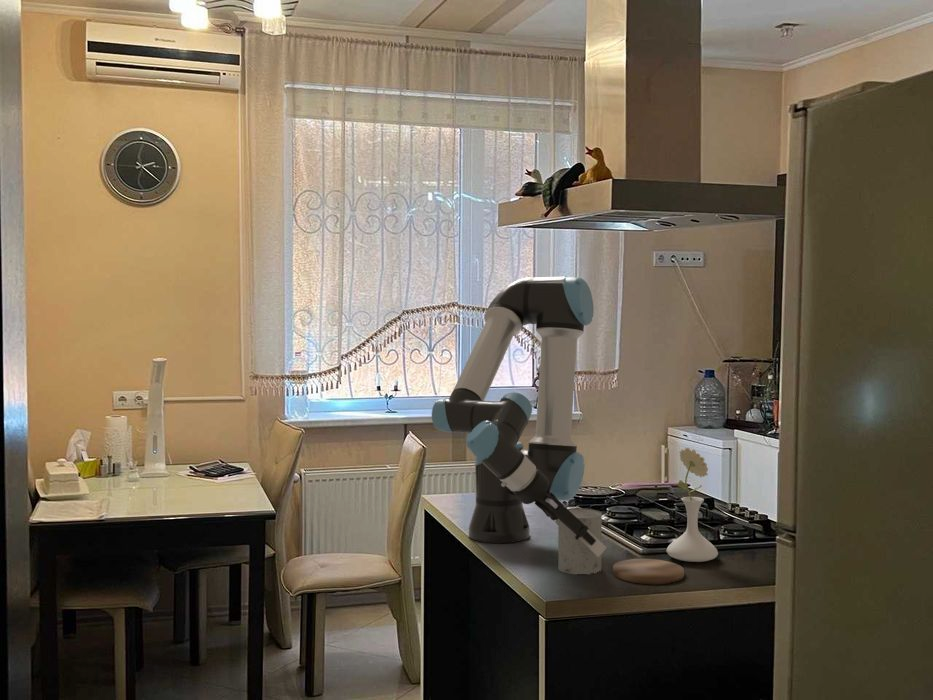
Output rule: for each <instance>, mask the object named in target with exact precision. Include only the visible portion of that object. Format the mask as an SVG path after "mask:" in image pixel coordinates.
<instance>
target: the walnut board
mask: <svg viewBox="0 0 933 700" xmlns="http://www.w3.org/2000/svg"><path fill="white" fill-rule="evenodd" d="M612 574H613V576H615V577H616V578H617V579H620V580H622V579H623V581H625V580H626V582H629V581H630V583H636V584H641V585H643V584H644V585H663V584H664V585H665V584H672V583H671V582H673V583H676V581H677V582H679V581H682V580H683V579H684V577H685V569H684V568H683V567H682V566H681V565H680V564H678V563H675V562H671V561H667V560H661V559H655V558H654V559H653V558H630V559H625V560H624V559H623V560H620V561H618V562H616V563H614V564H613V565H612Z"/></svg>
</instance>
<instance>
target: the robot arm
mask: <svg viewBox="0 0 933 700" xmlns="http://www.w3.org/2000/svg"><path fill="white" fill-rule="evenodd" d="M593 317H594V299H593V295H592V292H591V288H590V287H589V284H588V283H587V282H586V280H585V279H583V278H581V277H576V276H574V277H573V276H567V275H566V276H544V277H543V276H541V277H538V276H537V277H533V276H530V277H529V276H526V277H523V278H520V279H517V280H515V281H512V282H511V283H510V284H508V285H507V286H505V287H504V288H503V289H502V290H501V291H500V292H499V293H498V294H497V295H496V296H495V297H494V298H493V299H492V301H491V302H490V304H489V305H488V307H487V309H486V311H485V314H484V317H483V318H484V322H485V323H484V325H483V327H482V328H481V329H482V330H481V331H480V334H479V335H478V337H477V340H476V342H475V344H474V346H473V348H472V350H471V352H470V355H469V356H468V359H467V361H466V362H465V364H464V367H463V369H462V371H461V374H460V375H459V377H458V379H457V381H456V384H455V385H454V388H453V390H452V392H451V394H450V396H449V397H445V398H439V399H438V400H436V401H435V402H434V403H433V406H432V409H431V422H432V424H433V426H434V428H435V429H436V430H438V431H439V432H445V433H450V434H452V433H453V434H455V433H456V434H457V433H459V434H468V435H467V437H466V440H465V446H466V447H467V448H468V450H469V451H470V452H471V453H472V455H473V456H474V457H475V464H474V466H475V467H474V468H475V469H474V470H475V506H474V510H473V513H472V515H471V519H470V521H469V525H468V537H469V538H470V539H471V540H475V541H477V542H482V543H483V542H484V543H490V544H491V543H492V544H506V543H509V544H510V543H516V542H521V541H524V540H527V539H528V538H530V536H531V535H530V534H531V533H530V524H529V521H528V518H527V515H526V512H525V509H524V506H523V504H525V505H531V504H533V503H534V505H535V506H537V507H538V508H539V509H541V511H543V513H544V514H545V515H546V517H548V518H550V519H551V521H554V523H555V524H556V525H557V526H558V519H559V520H560V521H561V522H562V523H564V524H565V525H566V526H567V527H568V528H569V529H570V530H572V531H573V532H574V533H575V534H576V537H575V539H577V540H578V539H580V540H581V541H582V542H583V543H584V544H585V545H586V546H587V547H588V548H589V549H590V550H591V551H592V552H593V553H594V554H595V555H596V556H597V557H599V556H600V555H601V556H602V554H603V553H604V552H605V551H606V549H607V546H606V545H605V544H604V543H603V542H602V541H601V542H600V541H599V540H598V539H597V538H596V537H595V536H594V535H593V534H592V533H591V532H590V531H589V530H588V527H587V526H586V525H584V524H583V523H582V522H581V521H580V520H579V519H578V518H577V517H575V516H574V515H573V514H572V513H571V512H570V511H569V510H568V509H569V508H567V507H565V506H564V504H563V502H561V501H569V500H572V499H573V498H574V497H575V496H576V495H577V493H578V491H579V489H580V487H581V485H582V482H583V478H584V474H585V473H584V472H585V462H584V461H585V458H584V456H583V455H582V453H580V452H578V450H577V448H578V447H577V446H578V445H577V444H576V442H575V441H574V439H573V438H572V426H573V413H574V412H573V411H574V410H573V409H574V394H575V393H574V390H575V378H576V377H575V375H576V361H577V360H576V359H577V346H578V345H577V342H578V339H579V338H580V337H581V336H582V335H583V334H584V332H585V331H584V329H585V328H584V327H585V326H588V325H591V323H592V322H593ZM525 325H535V331H536V332H537V333H538V335H540V337H541V344H540V357H539V358H540V359H539V360H540V361H539V375H538V391H537V405H536V406H537V409H536V421H535V422H536V424H535V434H534V437H532V438H531V439H530V440H529V441H528V449H527V448H524V445H523V443H522V442H521V441H519V440H520V438H521V436H522V434H523V433H524V431H525V429H526V426H528V424H529V421H530V417H531V415H532V413H533V406H532V403H531V401H530V400H529V399H528V398H527V396H525V395H523V394H521V393H519V392H515V391H510V392H508V393H506V394H504V395H503V396H502V397H501V398H500V400H499V401H497V400H496V401H495V400H494V401H493V400H486V397H487V395H488V393H489V390H490V388H491V386H492V384H493V381H494V380H495V377H496V375H497V372H498V370H499V369H500V366H501V363H502V362H503V360H504V357H505V355H506V353H507V350H508V348H509V347H510V344H511V342H512V340H513V337H514V336H516V335H518V334H519V333H520V332H521V330H522V328H523V326H525Z"/></svg>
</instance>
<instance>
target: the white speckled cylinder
mask: <svg viewBox="0 0 933 700" xmlns="http://www.w3.org/2000/svg"><path fill="white" fill-rule="evenodd" d="M567 509H568V510H569V511H570V512H571V513H572V514H573V515H574V516H575V517H577V518H578V519H579V520H580V521H581V522H582V523H583V524H584V525H586V526H587V527H588V530H589V531H590V532H591V533H592V534H593V535H594V536H595V537H596V538H597V539H598V540H599V541H600V542H601V543H602V527H603V526H602V525H603V523H602V522H603V521H602V517H603V513H602V512H601V511H600V510H597V509H593V508H586V507H585V508H583V507H581V508H580V507H575V508H567ZM557 526H558V532H557V533H558V535H557V538H558V540H557V541H558V542H557V543H558V544H557V545H558V549H557V551H558V552H557V553H558V555H557V557H558V558H557V559H558V566H557V569H558V570H559V571H561V572H562V573H566V574H569V575H577V574H587V575H592V574H591V573H594V574H597V572H598V573H600V572H601V571H602V570H601V569H603V568H602V554H601V555H600V556H599V557H597V556H596V555H595V554H594V553H593V552H592V551H591V550H590V549H589V548H588V547H587V546H586V545H585V544H584V543H583V542H582V541H581V540H580V539H578V540H577V539H575V537H576V534H575V533H574V532H573V531H572V530H570V529H569V528H568V527H567V526H566V525H565V524H564V523H562V522H561V521H560V520H559V519H558V525H557ZM599 571H600V572H599Z"/></svg>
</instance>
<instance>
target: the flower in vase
mask: <svg viewBox="0 0 933 700" xmlns="http://www.w3.org/2000/svg"><path fill="white" fill-rule="evenodd" d="M679 459H680V461H681V462H682V463H683V466H684V467H685V468H686V469H687V471H686V475H685V479H684V481H683V480H678V481H679V482H678V483H677V487H679V488H680V489H683V490H684V491H687V493H688V496H685V497H684V496H683V497H681V498H680V499H681V500H682V502H683V503H684V506H685V509H686V516H687V523H686V530H685V531H684V532H683V534H681V535H680V536H678V537H677V538H676V539H674V540H673V541H672V542H671V543H669V545H668V546H667V549H666V551H665V552H666V553H667V554H668V556H670V557H671V558H673V559H675V560H678V561H683V562H690V563H692V562H693V563H695V562H696V563H702V562H703V563H704V562H709V561H711V560H714V559H715V558H717V556H718V555H719V552H718V549H717V548H716V546H715V545H714V544H712V543H711V541H709V540H708V539H706V538H705V537H704V536H703V535H702V533H700V531H699V527H698V525H699V524H698V517H699V510H700V508H701V505H702V504H703V502H704V501H705V499H704V498H702V497H699V496H692V494H691V493H693V492H695V491H696V490H698V489H700V488H702V484H700V485H699V487H696V488H693V489H691V490H689V487H688V483H687V482H688V475H689V474H690V473H691V474H693V475H695V476H696V477H700V478H702V477H706V476H708V470H709V468H708V466H707V463H706V462H705V458H704V457H702V456H701V454H700V453H699V452H698V453H697V451H696V450H695V449H690V448H689V447H685V448H684V449H681V450H679Z"/></svg>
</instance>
